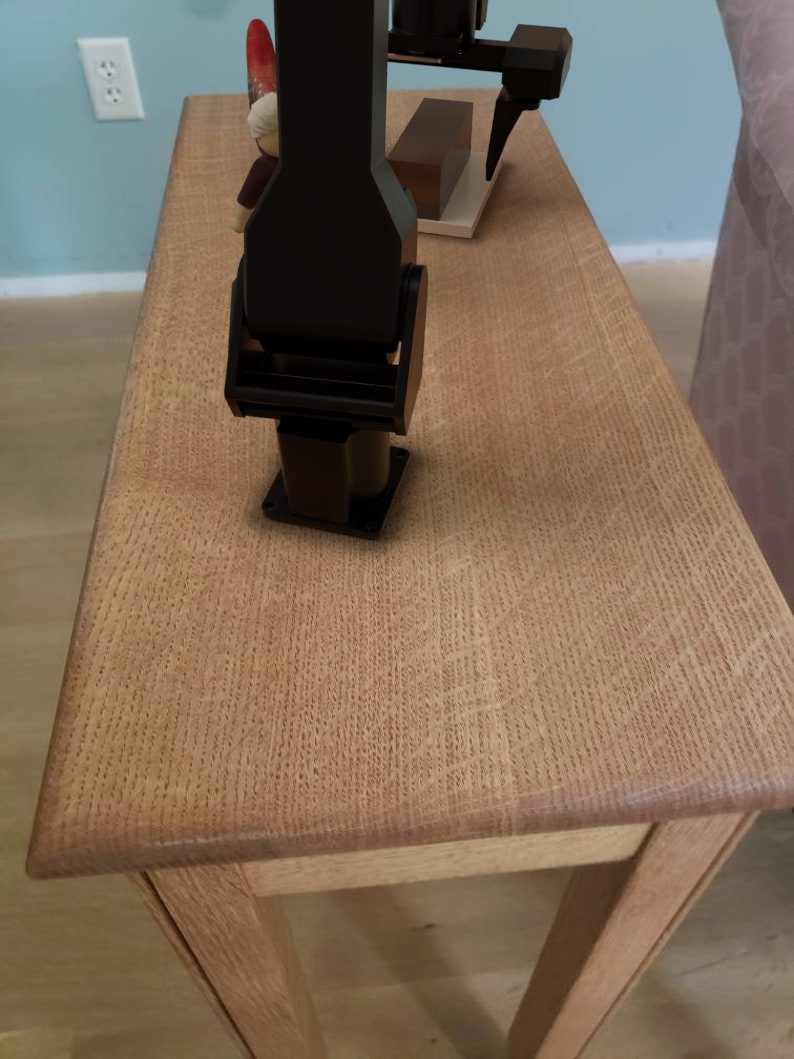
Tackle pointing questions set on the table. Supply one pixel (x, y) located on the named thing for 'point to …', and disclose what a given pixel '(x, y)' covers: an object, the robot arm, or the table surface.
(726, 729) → the table surface
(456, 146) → the tall brown wooden block
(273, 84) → the red tapered piece
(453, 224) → the tile
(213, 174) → the table surface
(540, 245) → the table surface
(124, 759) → the table surface
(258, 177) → the grandmother figurine
